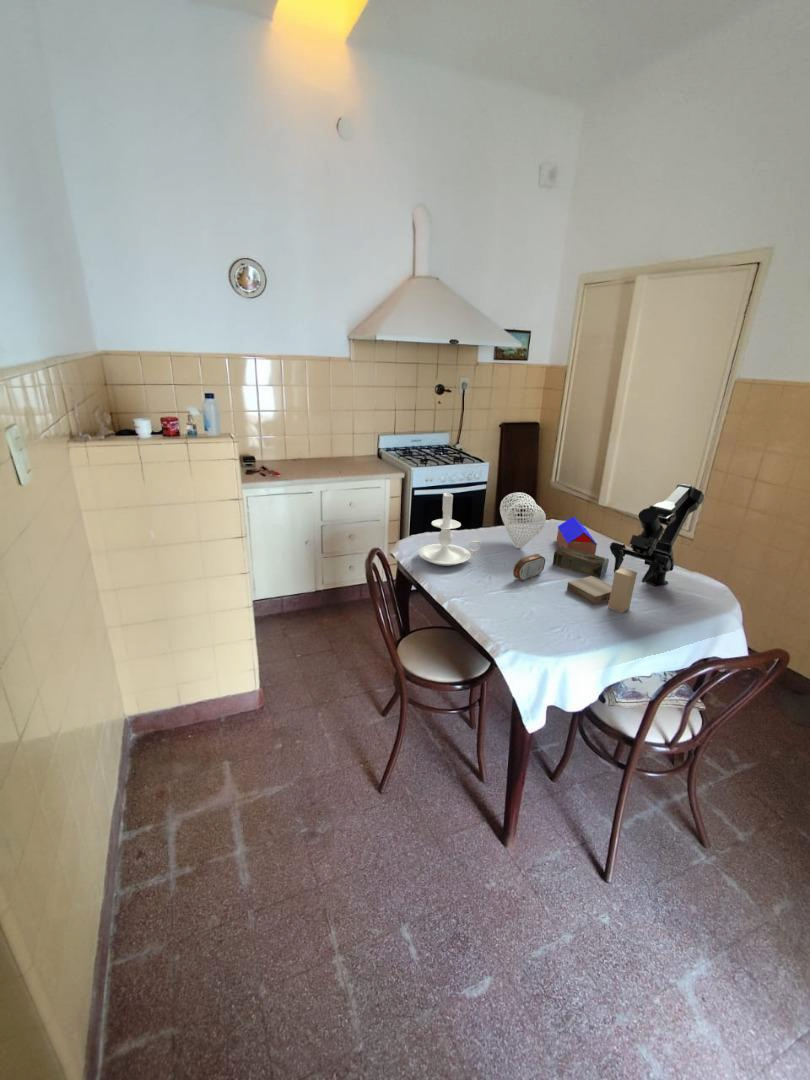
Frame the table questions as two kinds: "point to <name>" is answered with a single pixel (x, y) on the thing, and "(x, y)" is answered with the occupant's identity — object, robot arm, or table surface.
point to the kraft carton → (622, 589)
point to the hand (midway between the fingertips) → (628, 577)
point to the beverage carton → (580, 562)
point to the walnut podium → (590, 589)
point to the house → (575, 537)
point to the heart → (534, 518)
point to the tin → (529, 567)
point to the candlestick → (446, 540)
